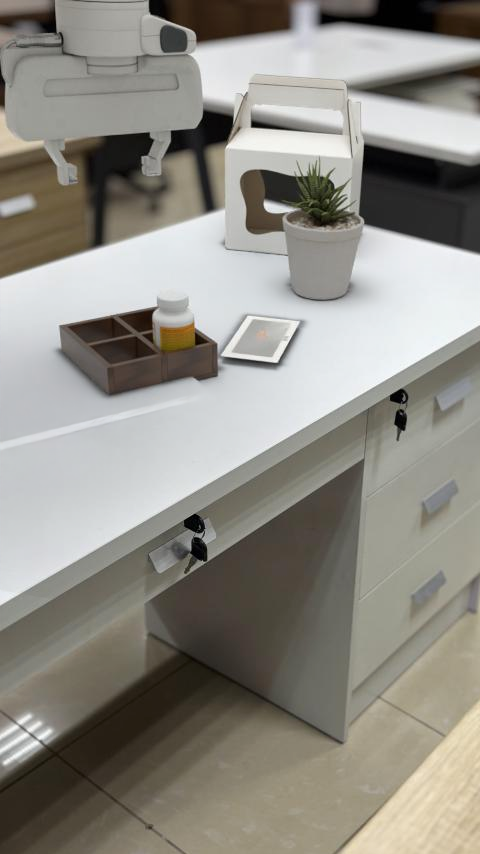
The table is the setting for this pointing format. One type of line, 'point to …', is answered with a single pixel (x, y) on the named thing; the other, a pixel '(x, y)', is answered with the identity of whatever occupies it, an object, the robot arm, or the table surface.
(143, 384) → the grid
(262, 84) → the gable box
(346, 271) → the potted plant
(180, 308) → the supplement bottle
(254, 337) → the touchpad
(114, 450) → the table surface
